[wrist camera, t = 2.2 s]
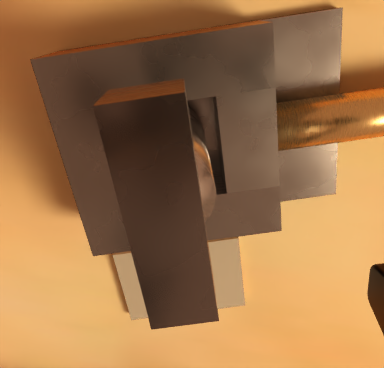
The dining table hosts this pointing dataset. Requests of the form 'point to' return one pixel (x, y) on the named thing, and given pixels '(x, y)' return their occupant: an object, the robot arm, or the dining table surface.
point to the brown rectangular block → (162, 197)
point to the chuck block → (219, 115)
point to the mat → (221, 266)
